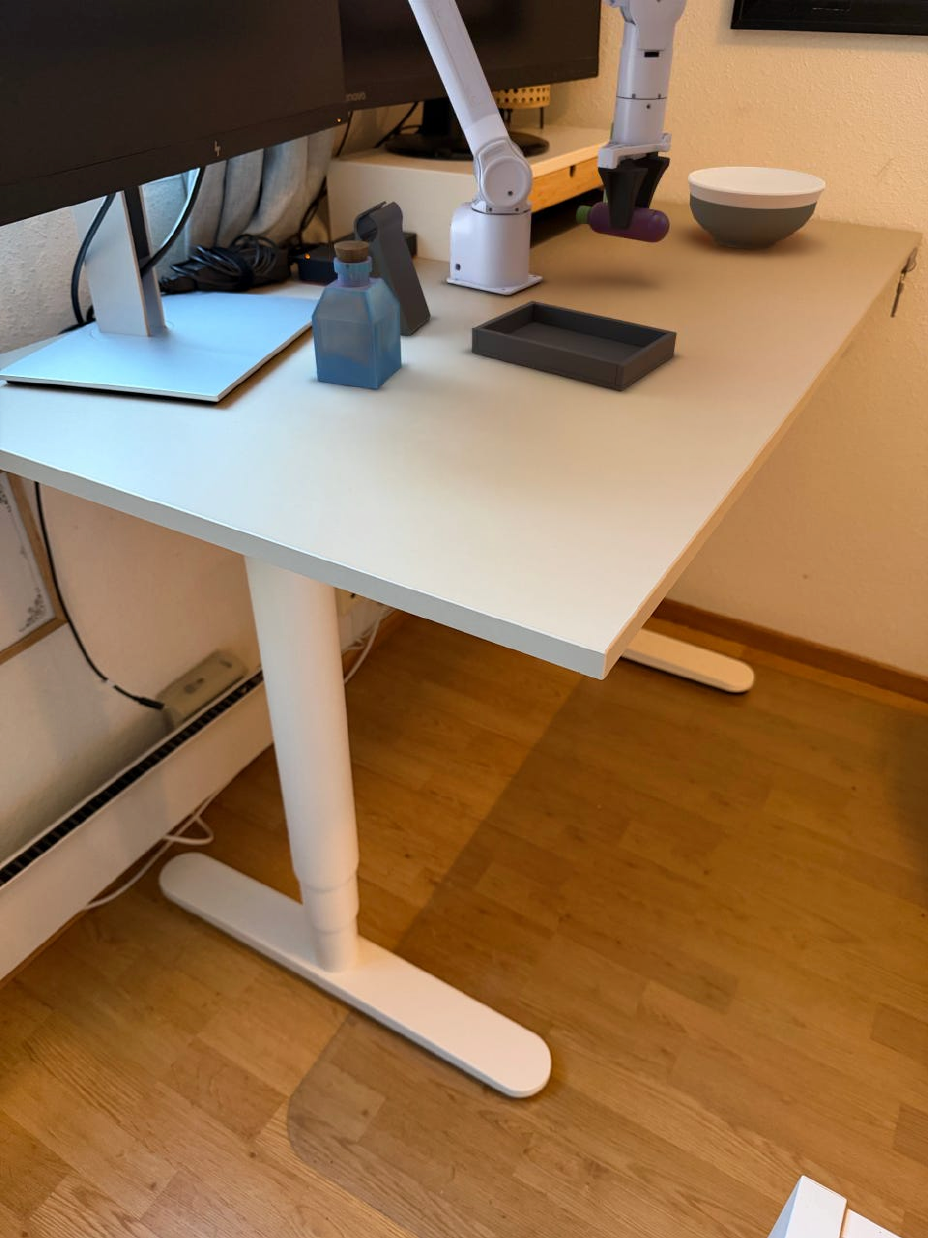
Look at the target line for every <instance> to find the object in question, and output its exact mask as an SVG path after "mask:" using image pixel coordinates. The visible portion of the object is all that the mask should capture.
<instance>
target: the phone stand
mask: <svg viewBox="0 0 928 1238" xmlns="http://www.w3.org/2000/svg"><path fill="white" fill-rule="evenodd" d="M403 223H404V213H403V210H402V208H401V206H400V205H399V204H398V203H397V202H395V201H391V202H390V203H387V201H386V200H384V201H382V202H380V203H378V204H376V205H375V206H372V207H370V208H368V209H366V210H364V211H362V212H360V213H358V214H357V215H356V217H355V218H354V220H353V232H354V241H364V242H367V243H368V244H369V250H368V256H369V257H371V259H372V271H371V272H369V278H377V279H379V278H380V279H383V280H384V282H385V283H386V285H387V286H388V288H389V289H390V291H391V292H392V294H393V295H394V297H395V298H396V300H397V301H398V303H399V312H400V336H410V335H412V334H413V333H414V332H415V331H416V330H417V329H418V328H420V327H421V326H423V325H424V324H425V323H426V322H427V321H428V320H430V319H431V317H432V315H431V312H430V309H429V306H428V303H427V300H426V297H425V294H424V290H423V288H422V285H421V282H420V279H419V276H418V273H417V270H416V267H415V264H414V262H413V259H412V255H411V252H410V250H409V247H408V243H407V242H406V237H405V235H404V229H403V227H404V226H403ZM379 276H380V277H379Z"/></svg>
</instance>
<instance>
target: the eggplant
mask: <svg viewBox="0 0 928 1238" xmlns="http://www.w3.org/2000/svg"><path fill="white" fill-rule="evenodd" d="M575 219H576V222H577V223H578V224H583V225H588V226H589V228H590V229H591V230H592V231H593V232H594V233H596V234H599V235H604V236H609V237H610V236H611V237H617V238H623V239H628V240H634V241H638V242H639V241H640V242H647V243H652V244H653V243H659V242H661V241H662V240H664V239H665V237H667V235H668V234H669V231H670V227H671V223H670V220H669V217H668V215H667V214H666V213H665V212H664V211H662V210H659V209H655V208H654V209H653V208H649V209H648V208H642V207H635V206H634V211H633V216H632V220H631V223H630V226H629V228H628V229H627V230H621V229H615V228H611V224H610V216H609V208H608V202H603V201H600V202H597V203H595V204H594V205H593V206H587V205H580V206H579V207H578V208H577V210H576V215H575Z"/></svg>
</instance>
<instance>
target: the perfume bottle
mask: <svg viewBox="0 0 928 1238" xmlns="http://www.w3.org/2000/svg"><path fill="white" fill-rule="evenodd" d="M333 246H334V250H335V255H336V257H334V258H333V267H334V272H335V273H336V274H337V279H335V280H333V281H332V282H330V283H329V284H327V285H325V287H324V288H323V290H322V293H321V296H320V297H319V299H318V300H317V303H316V305H315V307H314V308H315V309H313V312H312V314H311V325H312V326H311V327H312V336H313V337H312V338H313V345H314V356H315V365H316V366H315V367H316V376H317V381H318V382H321V383H330V384H337V385H343V386H351V387H358V388H365V389H372V390H378V389H379V388H380V387H381V386H382V385H383V384H384V383H386V382H387V381H388V380H390V378H391V377H392V376H393V375H394V374H395V373H397V372H398V371H399V370H400V369H401V368H402V366H403V365H402V361H403V360H402V341H401V339H402V338H401V337H402V335H400V312H399V303H398V301H397V300H396V298H395V297H394V295H393V294H392V292H391V291H390V289H389V288H388V286H387V285H386V283H385V282H384V280H383V279H381V278H378V279H377V278H369V272H371V271H372V259H371V257H369V256H368V250H369V244H368V243H367V242H364V241H355V240H344V241H339V242H336V243H334V245H333Z"/></svg>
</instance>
